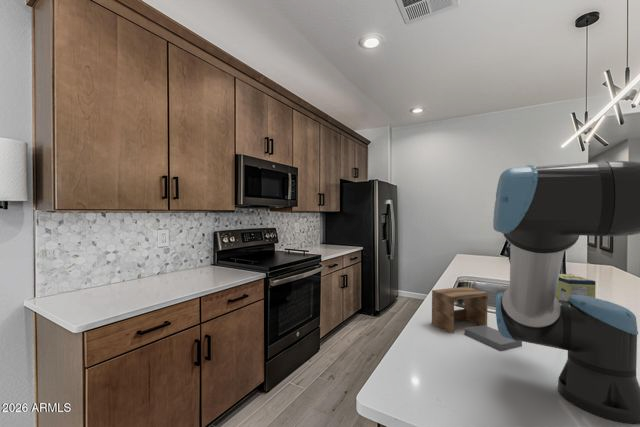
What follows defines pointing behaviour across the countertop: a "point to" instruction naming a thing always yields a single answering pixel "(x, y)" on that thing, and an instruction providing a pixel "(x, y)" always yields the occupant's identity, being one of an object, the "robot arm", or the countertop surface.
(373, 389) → the countertop surface
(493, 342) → the slate board
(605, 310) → the robot arm
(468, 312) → the walnut shelf
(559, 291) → the protein box
